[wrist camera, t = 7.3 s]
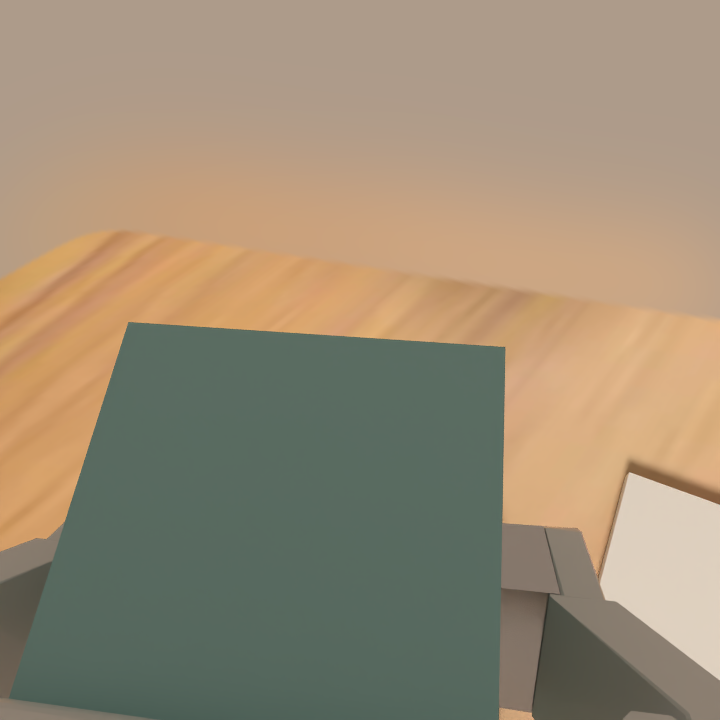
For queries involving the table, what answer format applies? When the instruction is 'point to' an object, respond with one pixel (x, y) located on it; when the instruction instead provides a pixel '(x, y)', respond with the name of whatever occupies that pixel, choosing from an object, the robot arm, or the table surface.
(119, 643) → the teal block
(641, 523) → the white mat
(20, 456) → the table surface
